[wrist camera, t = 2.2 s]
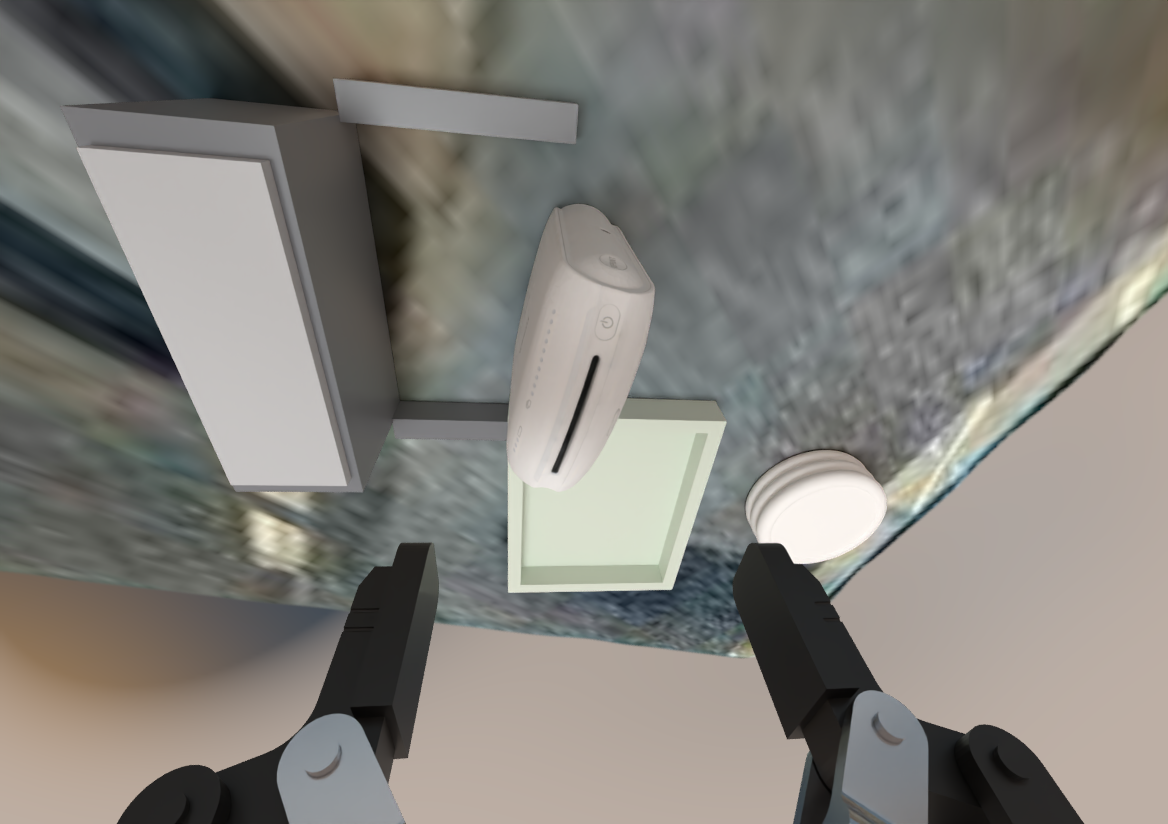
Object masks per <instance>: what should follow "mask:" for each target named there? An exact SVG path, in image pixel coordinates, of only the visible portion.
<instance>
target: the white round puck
mask: <svg viewBox="0 0 1168 824" xmlns="http://www.w3.org/2000/svg"><path fill="white" fill-rule="evenodd" d="M745 509H746V517H747V520H748V522H749V524H750V525H751V527H752V530H753V533H754V534H755V536H756V537H757V540H758V543H780V544H782V545H783V546H784V547H785V548H786V550H787V552H788V554H789V556H790V558H791V559H792V561H793V563H796V564H808V563H816V562H821V561H825V560H829V559H832V558H835V557H838V556H840V555H842V554H844V553H846V552H848V551H850V550H852V549H854V548H855V547H857V546H858V545H860V544H861V543H863V542H864V541H865V540H866V539H868V538H869V537H870V536H871V535H872V534H873V533H874V532H875V530H876V529H877V528H878V526H879V525H880V524H881V522H882V520H883V518H884V516H885V513H886V510H887V498H886V495H885V492H884V489H883V488H882V486H881V485H880V484H879V483H878V482H877V481H876V480H875V479H874V477H873V476H872V474H871V473H870V472H869V471H868V470H867V469H866V468H865V466H864V465H863V464H862V463H861V462H860V461H859V460H857V459H856V458H854V457H853V456H851V455H849V454H847V453H844V452H840V451H834V450H817V451H811V452H806V453H802V454H799V455H796V456H793V457H791V458H788V459H786V460H784V461H782V462H780V463H779V464H777V465H775V466H774V467H773V468H771V469H770V470H768V471H767V472H766V473H765V474H764V475H763V476H762V477H761V478H760V479H759V480H758V481H757V482H756V483H755V484H754V486H753V487H752V489H751V491H750V492H749V495H748V497H747V500H746V507H745Z"/></svg>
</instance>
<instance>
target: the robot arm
mask: <svg viewBox="0 0 1168 824" xmlns="http://www.w3.org/2000/svg"><path fill="white" fill-rule="evenodd" d="M438 594H439V579H438V572H437V564H436V557H435V549H434V544H433V543H401V544H400V545H399V547H398V549H397V552H396V556H395V559H394V562H393V566H387V567H374V568H373V570H372V571H371V572H370V573H369V574H368V576H367V577H366V578H365V579H364V580H363V582H362V583H361V584H360V585H359V587H358V589H357V592H356V595H355V598H354V601H353V603H352V606H351V611H350V613H349V615H348V617H347V620H346V623H345V626H344V631H343V632H342V634H341V637H340V640H339V643H338V645H337V648H336V651H335V654H334V657H333V659H332V662H331V665H330V668H329V671H328V673H327V676H326V679H325V682H324V685H323V688H322V690H321V693H320V696H319V699H318V701H317V704H316V706H315V709H314V710H313V712H312V714H311V716H310V717H309V719H308V720H307V721H306V723H305V724H304V725H303V727H302V728H301V729H300V730H299V731H298V732H297V733H296V734H295V735H294V736H293V737H291V738H290V739H289V740H288V741H286V742H285V743H284V744H282V745H281V746H279V747H277V748H276V749H274V750H272V751H270V752H267V753H265V754H263V755H260V756H258V757H255V758H252V759H250V760H247V761H245V762H242V763H239V764H237V765H234V766H232V767H229V768H227V769H224V770H221V771H219V772H216V773H215V772H214V771H213V770H212V769H210V768H208V767H205V766H201V765H189V766H184V767H181V768H178V769H175V770H173V771H171V772H169V773H166V774H164V775H163V776H162V777H160V778H158V779H157V780H155V781H154V782H153V783H151V784H150V785H149V786H147V787H146V788H145V789H144V790H143V791H142V792H141V793H140V794H139V795H138V796H137V797H136V798H135V799H134V800H133V801H132V802H131V803H130V805H129V806H128V807H127V809H126V810H125V812H124V813H123V814H122V816H121V818H120V819H119V821H118V823H117V824H406V823H405V821H404V818H403V816H402V814H401V812H400V810H399V808H398V805H397V803H396V801H395V799H394V797H393V794H392V792H391V790H390V788H389V785H388V782H389V777H390V773H391V768H392V763H393V759H400V758H408V754H409V749H410V744H411V738H412V733H413V728H414V723H415V718H416V713H417V707H418V702H419V696H420V692H421V687H422V681H423V676H424V671H425V666H426V661H427V656H428V651H429V645H430V640H431V635H432V630H433V625H434V619H435V614H436V609H437V603H438ZM733 596H734V600H735V603H736V606H737V609H738V611H739V614H740V617H741V619H742V622H743V624H744V627H745V630H746V632H747V635H748V638H749V640H750V643H751V645H752V648H753V651H754V653H755V656H756V659H757V661H758V664H759V666H760V669H761V672H762V674H763V677H764V680H765V682H766V685H767V687H768V690H769V693H770V695H771V698H772V700H773V703H774V706H775V708H776V711H777V714H778V716H779V719H780V722H781V724H782V727H783V729H784V732H785V735H786V737H787V739H800V738H805V740H806V742H807V745H808V747H809V750H810V751H809V753H808V754H807V758H806V762H805V767H804V772H803V777H802V782H801V787H800V792H799V797H798V802H797V807H796V811H795V817H794V822H793V824H1084V823H1083V821H1082V820H1081V819H1080V817H1079V816H1078V814H1077V813H1076V811H1075V810H1074V809H1073V807H1072V806H1071V804H1070V803H1069V801H1068V800H1067V798H1066V797H1065V796H1064V794H1063V793H1062V791H1061V790H1060V788H1059V787H1058V786H1057V784H1056V783H1055V781H1054V780H1053V778H1052V777H1051V775H1050V774H1049V773H1048V771H1047V770H1046V768H1045V767H1044V765H1043V764H1042V763H1041V761H1040V760H1039V759H1038V757H1037V756H1036V755H1035V754H1034V753H1033V752H1032V751H1031V750H1030V749H1029V748H1028V747H1027V746H1026V745H1025V744H1024V743H1022V742H1021V741H1020V740H1019V739H1017V738H1016V737H1015V736H1013V735H1012V734H1010V733H1008V732H1006V731H1005V730H1003V729H1000V728H998V727H995V726H991V725H978V726H975V727H974V728H973V729H971V730H970V731H969V732H968V733H966V734H963V733H960V732H957V731H953V730H950V729H947V728H944V727H940V726H937V725H934V724H931V723H928V722H925V721H922V720H919V719H917V718H916V717H915V716H914V715H913V714H912V713H911V711H910V710H909V709H908V708H907V707H906V706H905V705H903V704H902V703H901V702H900V701H898V700H897V699H895V698H894V697H892V696H890V695H888V694H885V693H884V692H883V691H882V690H881V688H880V687H879V685H878V684H877V682H876V681H875V679H874V677H873V675H872V674H871V672H870V670H869V668H868V667H867V665H866V663H865V661H864V660H863V658H862V656H861V655H860V652H859V651H858V649H857V647H856V645H855V644H854V642H853V640H852V638H851V637H850V635H849V633H848V631H847V629H846V628H845V626H844V624H843V623H842V622H840V619H839V618H840V617H839V615H838V614H837V612H836V610H835V608H834V607H833V605H831V604H830V599H829V598H828V596H827V594H826V592H825V591H824V589H823V587H822V585H821V584H820V582H819V581H818V580H817V579H816V578H815V577H814V576H813V575H812V574H811V573H810V572H809V571H808V570H807V569H806V568H805V567H804V566H803V565H802V564H794V563H793V561H792V559H791V558H790V556H789V554H788V552H787V550H786V548H785V547H784V546H783V545H782V544H780V543H751V544H749V545H748V547H747V549H746V551H745V554H744V556H743V558H742V561H741V563H740V565H739V567H738V570H737V572H736V574H735V577H734V580H733Z"/></svg>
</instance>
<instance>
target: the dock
mask: <svg viewBox="0 0 1168 824" xmlns="http://www.w3.org/2000/svg"><path fill="white" fill-rule="evenodd" d="M333 83H334V89H335V94H336V100H337V106H338V111H336V110H326V109H316V108H306V107H295V106H285V105H275V104H265V103H255V102H245V101H234V100H224V99H214V98H203V99H184V100H164V101H144V102H124V103H105V104H85V105H65V106H60V108H61V110H62V112H63V115H64V117H65V119H66V121H67V123H68V125H69V128H70V130H71V132H72V134H73V136H74V139H75V141H76V143H77V145H78V147H76V149H77V151H78V153H79V155H80V157H81V159H82V162H83V164H84V166H85V168H86V170H87V172H88V175H89V177H90V179H91V181H92V183H93V186H94V188H95V190H96V192H97V194H98V196H99V199H100V201H101V203H102V205H103V207H104V210H105V212H106V214H107V216H108V218H109V220H110V223H111V225H112V227H113V229H114V231H115V233H116V236H117V238H118V240H119V242H120V244H121V247H122V249H123V251H124V253H125V255H126V257H127V260H128V262H129V264H130V266H131V268H132V270H133V273H134V275H135V277H136V279H137V281H138V284H139V286H140V288H141V290H142V292H143V294H144V297H145V299H146V301H147V303H148V305H149V308H150V310H151V312H152V314H153V316H154V318H155V321H156V323H157V325H158V327H159V329H160V331H161V334H162V336H163V338H164V340H165V342H166V345H167V347H168V349H169V351H170V353H171V355H172V358H173V360H174V362H175V364H176V366H177V369H178V371H179V373H180V375H181V377H182V379H183V382H184V384H185V386H186V388H187V390H188V392H189V395H190V397H191V399H192V401H193V403H194V406H195V408H196V410H197V412H198V414H199V416H200V419H201V421H202V423H203V425H204V427H205V429H206V432H207V434H208V436H209V438H210V440H211V443H212V445H213V447H214V449H215V451H216V453H217V456H218V458H219V460H220V462H221V464H222V467H223V469H224V471H225V473H226V475H227V477H228V480H229V482H230V484H231V485H233V487H234V489H235V491H253V492H363V491H364V489H365V487H366V484H367V482H368V479H369V477H370V475H371V472H372V470H373V468H374V465H375V463H376V461H377V458H378V456H379V453H380V451H381V449H382V446H383V444H384V442H385V439H386V437H387V434H388V432H389V430H390V427H391V425H392V423H393V428H394V433H395V438H398V439H449V440H500V441H507V431H508V409H509V404H490V403H455V402H421V401H400V399H399V393H398V386H397V380H396V374H395V367H394V361H393V355H392V348H391V342H390V336H389V330H388V323H387V317H386V311H385V304H384V298H383V292H382V285H381V279H380V273H379V266H378V260H377V254H376V247H375V241H374V235H373V228H372V222H371V216H370V209H369V203H368V197H367V190H366V184H365V178H364V172H363V165H362V159H361V153H360V146H359V140H358V134H357V127H356V123H358V124H368V125H379V126H389V127H400V128H410V129H421V130H431V131H441V132H452V133H462V134H473V135H483V136H494V137H504V138H515V139H525V140H535V141H546V142H556V143H567V144H576V133H577V119H578V104H577V103H573V102H563V101H554V100H544V99H535V98H526V97H516V96H507V95H497V94H488V93H479V92H469V91H460V90H450V89H441V88H432V87H422V86H413V85H404V84H394V83H385V82H375V81H366V80H357V79H338V78H333Z"/></svg>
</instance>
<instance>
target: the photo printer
mask: <svg viewBox="0 0 1168 824" xmlns="http://www.w3.org/2000/svg"><path fill="white" fill-rule="evenodd" d="M654 296H655V287H654V284H653V282H652V281H651V279H650V278H649V276H648V275H647V273H646V271H645V270H644V268H643V266H642V265H641V263H640V262H639V260H638V258H637V257H636V255H635V253H634V252H633V250H632V248H631V247H630V245H629V243H628V242H627V240H626V238H625V236H624V235H623V233H622V231H621V230H620V228H619V227H617V226H614V225H611V224H610V222H609V220H608V219H607V218H606V216H605V215H604V214H603V213H602V212H600V211H599V210H598V209H596V208H594V207H592V206H589V205H585V204H572V205H568V206H565V207H563V208H562V209H560V208H558V207H555V208H554V209H553V211H552V213H551V215H550V217H549V219H548V221H547V223H546V226H545V229H544V231H543V234H542V237H541V241H540V244H539V247H538V251H537V255H536V258H535V262H534V265H533V269H532V273H531V277H530V281H529V284H528V288H527V293H526V297H525V301H524V305H523V309H522V314H521V318H520V323H519V328H518V333H517V338H516V343H515V350H514V358H513V368H512V379H511V392H510V406H509V418H508V431H507V457H508V462H509V464H510V467H511V468H512V470H513V472H514V473H515V474H516V475H517V476H518V477H519V478H520V479H521V480H522V481H524V482H525V483H526V484H528V485H530V486H531V487H533V488H538V487H544V488H549V489H552V490H554V491H556V492H561V491H565V490H567V489H570V488H571V487H573V486H574V485H576V484H577V483H578V482H579V481H580V480H581V479H582V478H583V477H584V475H585V474H586V473H587V472H588V471H589V469H590V468H591V467H592V465H593V464H594V462H595V461H596V459H597V458H598V456H599V455H600V453H601V451H602V450H603V448H604V446H605V444H606V442H607V440H608V438H609V436H610V434H611V432H612V430H613V428H614V426H615V424H616V422H617V420H618V417H619V415H620V413H621V410H622V408H623V406H624V404H625V401H626V399H627V396H628V394H629V391H630V389H631V386H632V383H633V381H634V378H635V375H636V372H637V369H638V367H639V364H640V361H641V358H642V355H643V352H644V348H645V346H646V342H647V335H648V331H649V328H650V323H651V318H652V313H653V306H654Z"/></svg>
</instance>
